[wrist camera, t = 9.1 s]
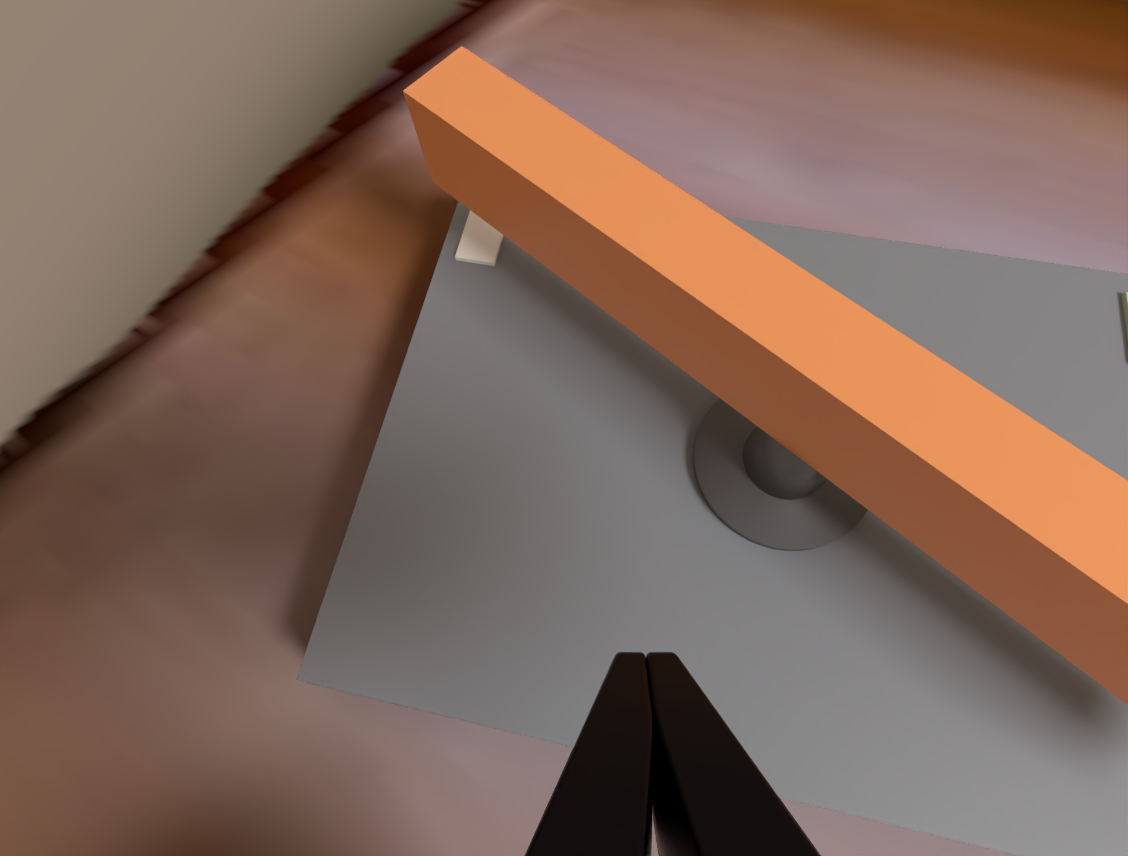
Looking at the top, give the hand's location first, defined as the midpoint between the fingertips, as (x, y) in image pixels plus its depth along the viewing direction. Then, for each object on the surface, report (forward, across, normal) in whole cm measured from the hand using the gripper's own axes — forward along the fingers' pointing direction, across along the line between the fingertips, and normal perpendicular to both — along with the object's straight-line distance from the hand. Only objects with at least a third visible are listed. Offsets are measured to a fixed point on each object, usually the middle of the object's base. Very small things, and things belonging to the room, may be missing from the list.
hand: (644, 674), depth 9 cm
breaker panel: (+14, -6, +4) cm, 16 cm away
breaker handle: (+12, -6, +3) cm, 14 cm away
